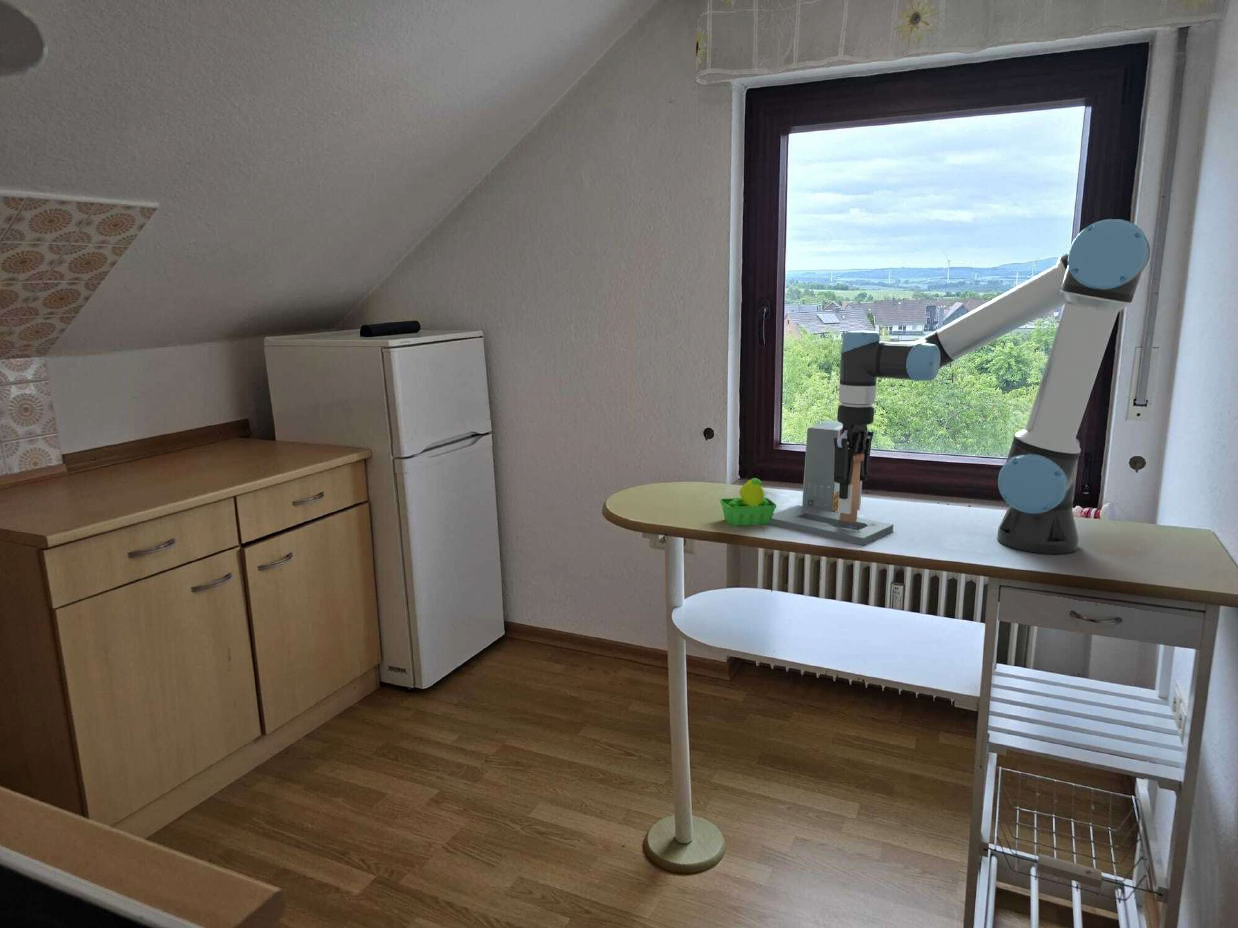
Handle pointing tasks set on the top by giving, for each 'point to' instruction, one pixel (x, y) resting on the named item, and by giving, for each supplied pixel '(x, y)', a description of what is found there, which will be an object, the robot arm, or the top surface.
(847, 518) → the peg
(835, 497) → the hard drive box
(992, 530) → the top surface
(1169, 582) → the top surface
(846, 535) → the keyhole board
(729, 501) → the fruit basket
